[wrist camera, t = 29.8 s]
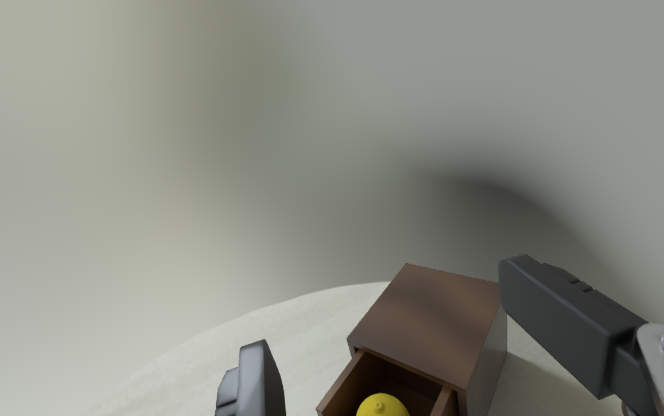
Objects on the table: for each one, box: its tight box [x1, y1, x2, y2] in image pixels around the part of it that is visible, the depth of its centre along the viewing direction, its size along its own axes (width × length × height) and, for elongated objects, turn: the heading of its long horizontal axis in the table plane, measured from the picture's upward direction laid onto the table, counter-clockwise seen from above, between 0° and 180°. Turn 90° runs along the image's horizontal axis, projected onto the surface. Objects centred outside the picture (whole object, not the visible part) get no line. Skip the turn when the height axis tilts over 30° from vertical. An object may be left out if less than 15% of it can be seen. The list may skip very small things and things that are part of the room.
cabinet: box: [347, 263, 507, 416], centre depth 39 cm, size 15×13×11 cm
